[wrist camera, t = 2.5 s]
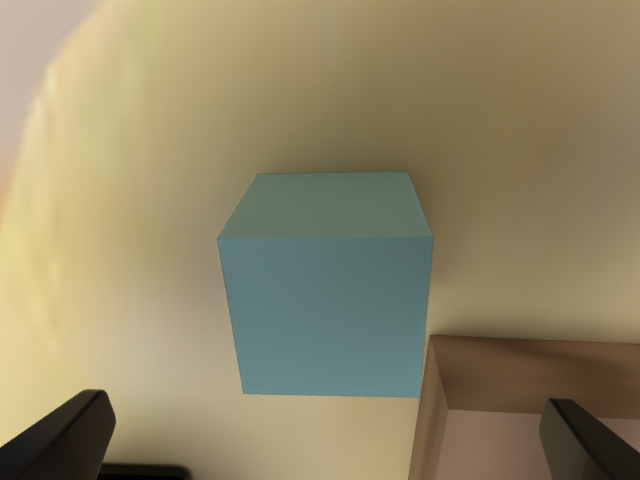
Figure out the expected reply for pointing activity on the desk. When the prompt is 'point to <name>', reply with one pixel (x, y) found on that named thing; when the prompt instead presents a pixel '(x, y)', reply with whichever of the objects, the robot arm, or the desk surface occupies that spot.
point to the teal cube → (329, 284)
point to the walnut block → (514, 402)
